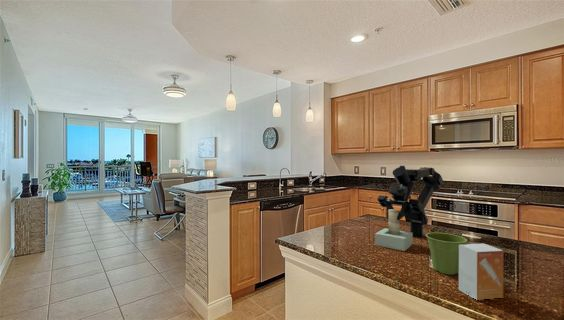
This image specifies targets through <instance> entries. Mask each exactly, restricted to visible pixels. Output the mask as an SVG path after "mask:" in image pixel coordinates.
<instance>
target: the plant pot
mask: <svg viewBox="0 0 564 320" xmlns="http://www.w3.org/2000/svg"><path fill="white" fill-rule="evenodd" d="M425 237H426V238H427V242H428V245H429V250H430V251H429V252H430V257H431V262H432V267H433V270H434V271H437V272H439V273H441V274H444V275H451V276H453V275H457V274H458V275H459V245H465V244H466V243H467V242H468V239H467V238H465V237H464V236H460V235H456V234H452V233H445V232H427V233H425Z"/></svg>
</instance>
